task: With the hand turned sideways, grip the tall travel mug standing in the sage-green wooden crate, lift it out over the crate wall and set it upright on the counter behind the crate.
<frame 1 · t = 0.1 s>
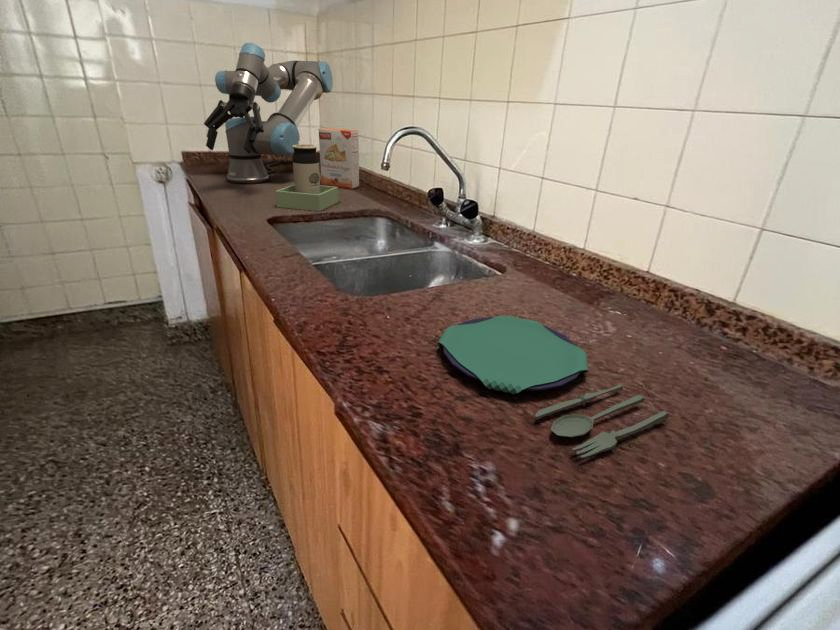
hand: (228, 149, 144), 15 cm above the counter, tool tilted 35°, fingers open, 13 cm apart
crate: (308, 204, 146), on the counter
travel mug: (308, 205, 146), resting in crate
cracker box: (340, 186, 176), on the counter
cutlery set: (532, 378, 61), on the counter
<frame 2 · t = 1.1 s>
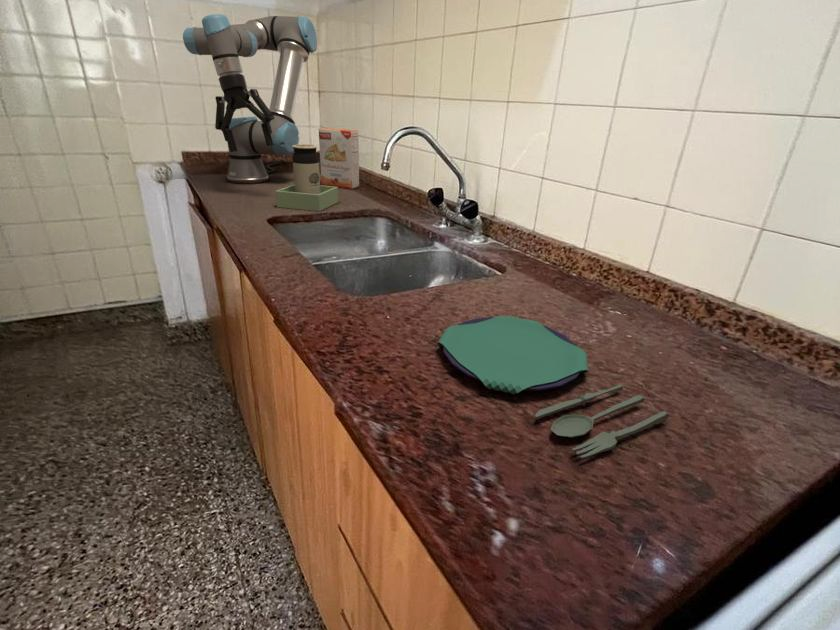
hand: (252, 148, 145), 16 cm above the counter, tool pointing down, fingers open, 13 cm apart
nothing on the counter moved.
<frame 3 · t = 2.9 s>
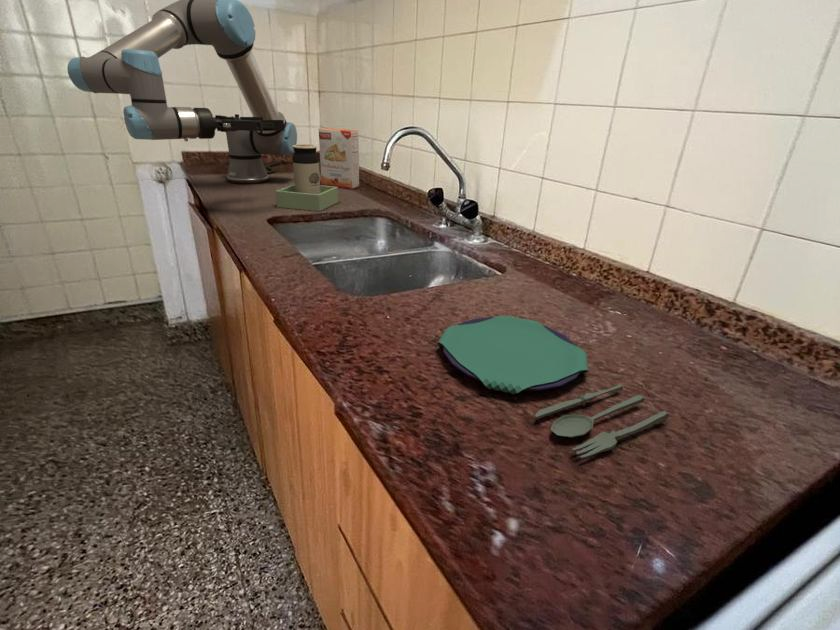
hand: (272, 123, 130), 24 cm above the counter, tool horizontal, fingers open, 13 cm apart
nothing on the counter moved.
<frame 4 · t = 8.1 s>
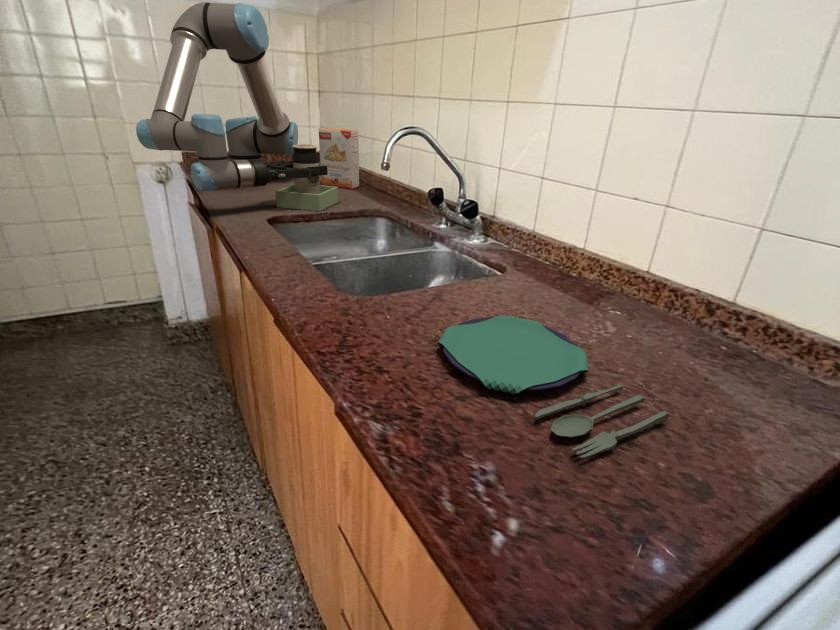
hand: (319, 168, 144), 11 cm above the counter, tool horizontal, fingers closed on travel mug, 8 cm apart
travel mug: (308, 205, 146), resting in crate, touching gripper
everything else where it was.
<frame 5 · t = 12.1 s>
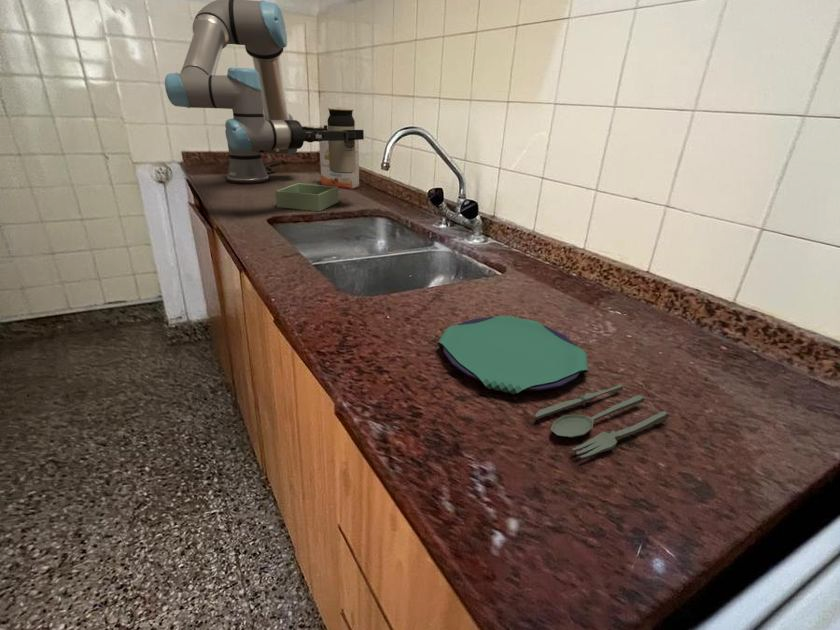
hand: (354, 133, 138), 22 cm above the counter, tool horizontal, fingers closed on travel mug, 8 cm apart
travel mug: (342, 172, 140), point 11 cm above the counter, touching gripper
everything else where it was.
when the fingers open (11 cm above the counter, at t = 16.1 s): travel mug stays where it is, on the counter.
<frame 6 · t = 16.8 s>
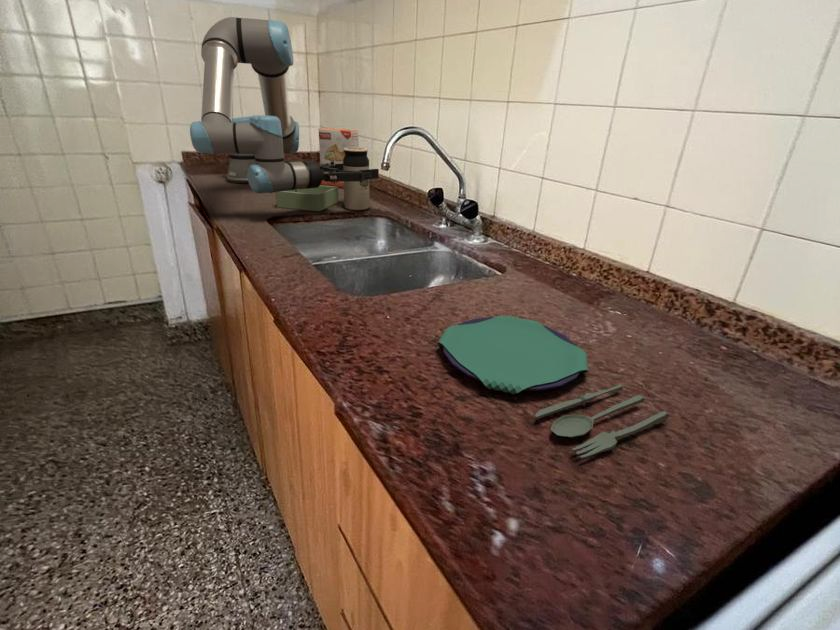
hand: (365, 170, 142), 11 cm above the counter, tool horizontal, fingers open, 13 cm apart
travel mug: (357, 208, 145), on the counter
everything else where it was.
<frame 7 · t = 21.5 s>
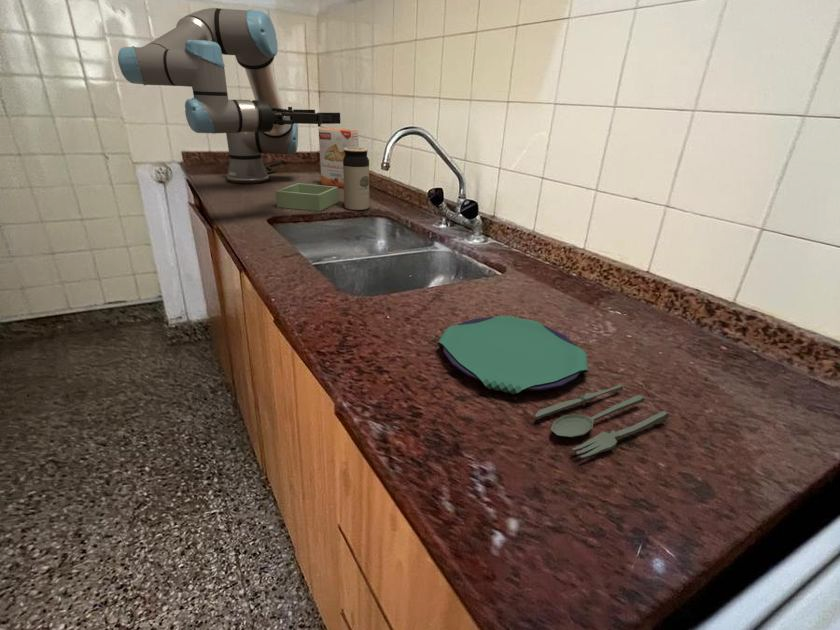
hand: (326, 116, 127), 27 cm above the counter, tool horizontal, fingers open, 13 cm apart
nothing on the counter moved.
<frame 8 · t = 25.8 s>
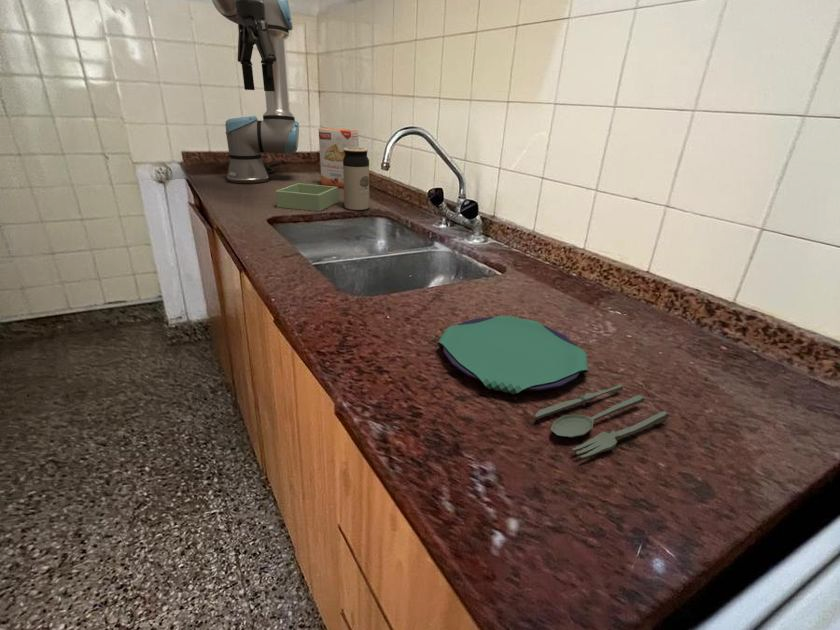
hand: (259, 90, 128), 33 cm above the counter, tool pointing down, fingers open, 13 cm apart
nothing on the counter moved.
at the end: travel mug inside the target area (0.1 cm from its centre), on the counter; travel mug tilted 0°; the gripper is holding nothing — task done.
